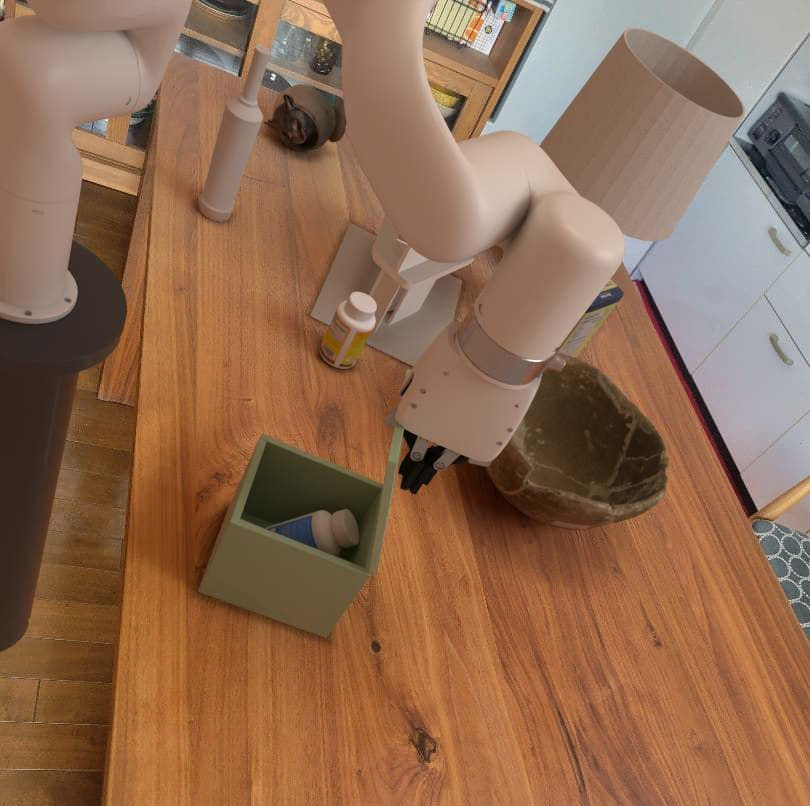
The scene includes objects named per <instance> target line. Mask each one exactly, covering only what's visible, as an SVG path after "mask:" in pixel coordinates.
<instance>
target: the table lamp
mask: <svg viewBox="0 0 810 806" xmlns="http://www.w3.org/2000/svg"><path fill="white" fill-rule="evenodd" d="M745 115H746V108H745V105H744V103H743V101H742V99H741V98H740V96H739V95H738V94H737V92H736V91H735V89H733V87H731V85H730V84H729V83H728V82H727V81H726V80H725V79H724V78H723V77H722V76H720V74H719V73H717V72H716V70H714V69H713V68H712V67H710V66H709V65H708V64H707V63H706V62H705V61H703V60H701V59H700V58H699V57H697V56H696V55H695V54H694V53H691V52H690V51H689V50H688V49H685V48H684V47H683V46H681V45H679V44H677V43H676V42H674V41H672V40H671V39H668V38H667V37H664V36H663V35H661V34H658V33H656V32H653V31H650V30H649V29H644V28H641V27H628V28H627V29H625V30H623V32H622V34H621V35H620V36H619V37H618V39H617V40H616V41H615V43H614V44H613V46H612V47H611V48H610V50H609V51H608V53H607V54H606V55H605V56H604V57H603V59H602V61H601V62H600V64H598V66H597V67H596V69H594V71H593V73H591V75H590V76H589V78H588V79H587V80H586V82H585V83H584V85H583V86H582V87H581V89H580V90H579V91H578V93H577V94H576V96H574V98H573V99H572V101H571V102H570V104H569V105H568V106H567V108H565V110H564V111H563V113H562V114H561V116H560V117H559V118H558V120H557V121H556V122H555V124H554V125H553V126H552V127H551V129H550V130H549V132H548V133H547V134H546V135H545V137H544V138H543V140H542V141H541V143H540V144H539V146H540V147H541V148H542V150H543V151H544V152H545V153H546V154H547V155H548V156H549V158H550V159H551V160H552V162H553V163H554V164H555V165H556V167H557V168H558V169H559V171H560V172H561V173H562V174H563V176H564V177H565V178H566V179H567V181H568V182H569V183H570V184H571V186H572V187H573V188H574V189H575V190H576V191H577V193H578V194H579V195H580V196H581V197H583V198H585V199H587V200H589V201H590V202H592V203H594V204H595V205H597V206H598V207H600V208H601V209H602V210H603V211H605V212H606V213H607V214H608V215H609V216H610V217H611V218H612V219H613V220H614V221H615V222H616V224H617V225H618V227H619V228H620V230H621V232H622V234H623V236H626V237H629V238H632V239H635V240H638V241H639V240H640V241H643V242H651V243H652V242H653V243H656V242H662V241H665V240H666V239H668V238H670V236H671V235H672V233H673V231H674V230H675V228H676V227H677V225H678V224H679V222H680V221H681V219H682V218H683V216H684V215H685V213H686V210H687V209H688V208H689V206H690V204H691V203H692V201H693V200H694V198H695V196H696V194H697V193H698V191H699V190H700V188H701V186H702V185H703V183H704V182H705V180H706V178H707V177H708V176H709V174H710V172H711V170H712V169H713V168H714V166H715V164H716V162H717V161H718V159H719V158H720V156H721V154H722V153H723V151H724V149H725V148H726V146H727V145H728V143H729V141H730V140H731V138H732V137H733V135H734V133H735V132H736V130H737V128H738V127H739V125H740V123H741V122H742V120H743V119H744V117H745Z"/></svg>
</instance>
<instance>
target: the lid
mask: <svg viewBox="0 0 810 806" xmlns="http://www.w3.org/2000/svg"><path fill="white" fill-rule="evenodd" d="M411 370H412V369H409V368H406V370H405V374H404V378H403V381H404V380H405V379H406V377H407V375H408V374H409V373H410V371H411ZM392 431H393V432H392V437H391V441H390V446H389V450H388V455H387V456H388V457H387V460H386V466H385V467H386V468H385V472H384V479H383V483H382V484H383V490H382V496H381V502H380V508H379V514H378V520H377V526H376V532H375V538H374V544H373V550H372V556H371V562H370V568H369V573H371V575H372V574H373V575H378V573H379V568H380V562H381V558H382V552H383V547H384V542H385V536H386V532H387V526H388V522H389V517H390V511H391V507H392V501H393V496H394V492H395V486H396V480H397V474H398V471H399V463H400V458H401V452H402V447H403V442H404V437H403V432H404V428H403V427H401V426H400V425H399V424H398V423H397V421H396V422H395V426H394V429H393V430H392Z"/></svg>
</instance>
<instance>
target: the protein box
mask: <svg viewBox="0 0 810 806" xmlns="http://www.w3.org/2000/svg"><path fill="white" fill-rule="evenodd" d="M624 295H625V292H624V291H623V289H621V287H619V286H618V285H617V284H616V283H615V281H613V280H612V278H611V279H610V280H609V281H608V283H607V284H606V285H605V287H604V288H603V289H602V291H601V292H600V293H599V295H598V296H597V297H596V299H595V300H594V301H593V303H592V304H591V305H590V306H589V308H588V309H587V310H586V312H585V313H584V314H583V316H582V317H581V318H580V320H579V321H578V322H577V324H576V325H575V326H574V328H573V329H572V330H571V332H570V333H569V334H568V336H567V337H566V338H565V340H564V341H563V342H562V344H561V345H560V346H559V348H558V349H557V350H556V352H559V353H562V354H565V355H568V356H571V357H573V358H577V357H578V356H579V354H580V353H581V352H582V351H583V349H584V348H585V346H586V345H587V344H588V342H589V341H590V340H591V339H592V338H593V336H594V335H595V333H596V332H597V331H598V329H599V328H600V327H601V326H602V324H603V323H604V322H605V320H606V319H607V318H608V316H609V315H610V314H611V313H612V312H613V310H614V309H615V308H616V306H617V305H618V304H619V302H620V301H621V300H622V298H623V297H624Z"/></svg>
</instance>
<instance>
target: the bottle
mask: <svg viewBox="0 0 810 806" xmlns="http://www.w3.org/2000/svg"><path fill="white" fill-rule="evenodd" d="M271 54H272V52H271V50H270V49H269V48H268V47H266V46H264V45H262V44H256V45H255V47H254V50H253V54H252V57H251V62H250V65H249V69H248V72H247V76H246V78H245V82H244V85H243V88H242V92H239V94H238V96H235V97H232V98H229V99H227V100H226V102H225V106H224V109H223V114H222V118H221V121H220V125H219V129H218V133H217V136H216V141H215V144H214V147H213V148H214V149H213V152H212V156H211V160H210V163H209V167H208V171H207V174H206V178H205V183H204V186H203V189H202V191H201V193H200V194H199V197H198V210H199V211H200V213H201V214H202V215H203V216H204V217H205V218H207V219H209V220H211V221H214V222H217V223H224V222H227V221H228V220H229V219H230V218H231V216H232V214H233V212H234V210H235V201H236V199H237V194H238V192H239V190H240V186H241V184H242V180H243V177H244V174H245V172H246V169H247V166H248V163H249V160H250V157H251V154H252V151H253V148H254V146H255V144H256V140H257V138H258V135H259V131H260V128H261V125H262V123H263V120H264V113H263V112H262V110H261V109H260V107H259V101H258V99H257V98H258V95H259V92H260V90H261V89H260V88H261V85H262V82H263V79H264V75H265V72H266V69H267V68H268V64H269V60H270V57H271Z"/></svg>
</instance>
